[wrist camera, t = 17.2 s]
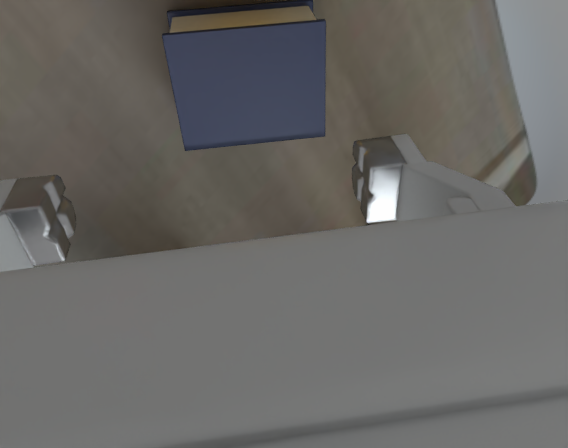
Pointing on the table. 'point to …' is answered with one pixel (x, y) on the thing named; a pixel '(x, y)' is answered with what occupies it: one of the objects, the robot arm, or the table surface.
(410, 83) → the table surface
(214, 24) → the navy blue book
